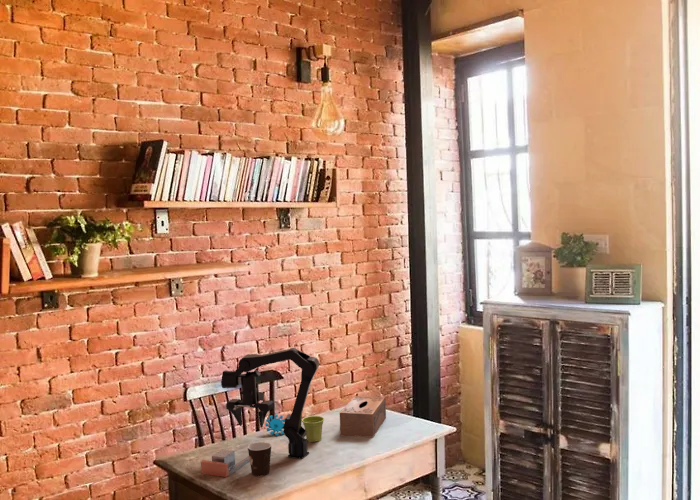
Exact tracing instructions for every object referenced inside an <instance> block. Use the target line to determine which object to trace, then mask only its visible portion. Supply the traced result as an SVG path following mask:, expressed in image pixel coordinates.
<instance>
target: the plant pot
mask: <svg viewBox="0 0 700 500" xmlns="http://www.w3.org/2000/svg"><path fill="white" fill-rule="evenodd" d="M324 421H325V417H323V416H318V415H311V416H306V417H304V418H303V417H302V425H303V428H304V429H305V430H306V431H307V433H306V436H305V439H307V442H310V443H311V442H312V443H314V442H319V441H322V434H323V425H324Z"/></svg>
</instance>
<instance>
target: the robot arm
mask: <svg viewBox="0 0 700 500" xmlns="http://www.w3.org/2000/svg"><path fill="white" fill-rule="evenodd" d="M285 361H291V362H293V363H294V364H295V365H296V366H297V367H298V368H300V369H301V372H300V373H301V375H300V377H301V379H300V380H301V381H300V384H299V386H298V391H297V394H296V397H295V401H294V405H293V407H292V410H291V414H290V413H288V414H287V415H286V416H285V418H284V419H285V422H284V423H285V424H284V426H283V428H284V429H283V430H282V431H283V432H284V434H283V435H284V436H285V437H286V438H287V440H288V443H287V447H288V448H287V449H288V455H287V457H288V458H293V459H295V458H296V459H299V460H301V459H304V458H305V457H307V455H309V454H310V452H309V451H308V440H307V439H306V433H307V431H306V430H305V428H304V426H302V424H303V422H302V419H303V417H302V415H303V411H304V407H305V404H306V401H307V397H308V394H309V390H310V388H311V383H312V381H313V379H314V377H315V375H316V373H317V371H318V369H319V366H320V361H319V359H318V358H317V357H315V356H310V355H309V354H307V353H305V352H303V351H301V350H299V349H298V348H296V347H291V348H288V349H284V350H278V351H274V352H269V353H264V354H256V353H254V354H251V353H249V354H246V355H244V356H242V358H240V359H239V361H238V367H237V368H236V369H235V370H223V371H222V375H221V381H220V384H221V388H222V389H238V387H239V386H241V387H240V388H241V390H240V391H239V394H240V395H241V398H232V399H230V400H228V401H226V404H225V409H226V410H228V411H229V413H231V414H232V416H233V417H234V418H235V420H236V422H237V424H238V425H239V427H242V426H243V415H242V411H243V408H256V409H258V413H257V414H258V419H259V420H258V421H259V426H260V428H263V427H264V423H265V421H266V417H267V414H268V412H270V411H271V410H272V409H274V408H275V403H274V401H273V400H265V392H262V391H259V388H257V380H256V378H257V377H259V376H261V375H262V373H261V372H260V371H258V369H257V368H260V367H263V366H265V365H271V364H275V363H276V364H277V363H281V362H285ZM260 401H261V402H260Z"/></svg>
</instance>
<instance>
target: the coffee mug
mask: <svg viewBox="0 0 700 500" xmlns="http://www.w3.org/2000/svg"><path fill="white" fill-rule="evenodd" d="M247 452H248V456H249V459H250V461H249V463H250V470H251V475H252V476H254V477H263V476H267V475H268V474H270V470H271V468H270V467H271V455H272V454H271V453H272V444H271V443H270V442H265V441H257V442H253V443H249V445H247Z"/></svg>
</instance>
